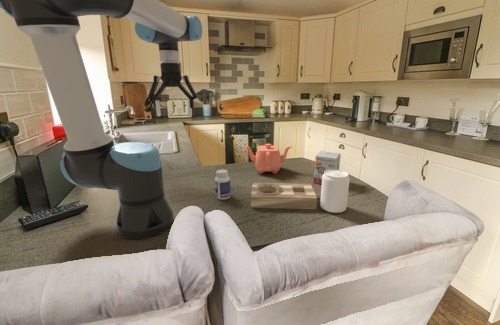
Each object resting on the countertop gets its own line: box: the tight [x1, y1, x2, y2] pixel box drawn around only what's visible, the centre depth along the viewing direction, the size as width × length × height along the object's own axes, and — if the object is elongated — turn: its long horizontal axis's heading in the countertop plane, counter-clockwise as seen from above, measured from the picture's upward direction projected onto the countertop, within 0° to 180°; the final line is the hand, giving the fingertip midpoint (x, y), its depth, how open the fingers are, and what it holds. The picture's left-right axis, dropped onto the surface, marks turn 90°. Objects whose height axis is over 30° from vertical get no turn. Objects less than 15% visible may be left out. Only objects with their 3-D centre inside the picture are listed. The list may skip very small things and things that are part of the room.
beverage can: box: [319, 169, 351, 214], centre depth 80 cm, size 8×8×12 cm
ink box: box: [313, 150, 342, 185], centre depth 103 cm, size 9×9×12 cm
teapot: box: [243, 143, 293, 174], centre depth 117 cm, size 15×17×13 cm
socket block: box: [250, 182, 318, 210], centre depth 87 cm, size 12×21×4 cm, turn 86°
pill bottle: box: [214, 169, 231, 200], centre depth 90 cm, size 5×5×10 cm
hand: (174, 116), depth 109 cm, fingers open, 13 cm apart
